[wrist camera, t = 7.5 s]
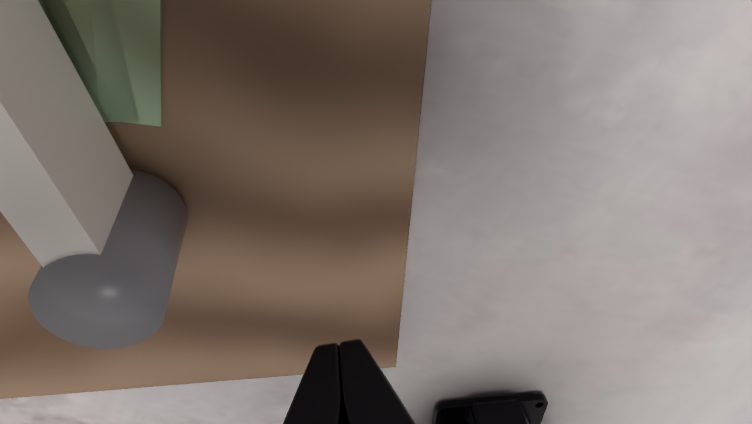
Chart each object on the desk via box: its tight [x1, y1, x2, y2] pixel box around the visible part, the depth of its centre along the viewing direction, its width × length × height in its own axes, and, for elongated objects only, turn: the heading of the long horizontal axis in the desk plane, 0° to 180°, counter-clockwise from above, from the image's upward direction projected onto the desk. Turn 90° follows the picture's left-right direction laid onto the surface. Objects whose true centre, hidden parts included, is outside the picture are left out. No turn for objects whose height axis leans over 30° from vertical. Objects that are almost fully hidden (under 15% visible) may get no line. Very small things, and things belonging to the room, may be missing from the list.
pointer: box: [0, 0, 187, 349], centre depth 15 cm, size 11×4×4 cm, turn 10°
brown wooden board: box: [0, 0, 432, 399], centre depth 20 cm, size 20×20×1 cm
